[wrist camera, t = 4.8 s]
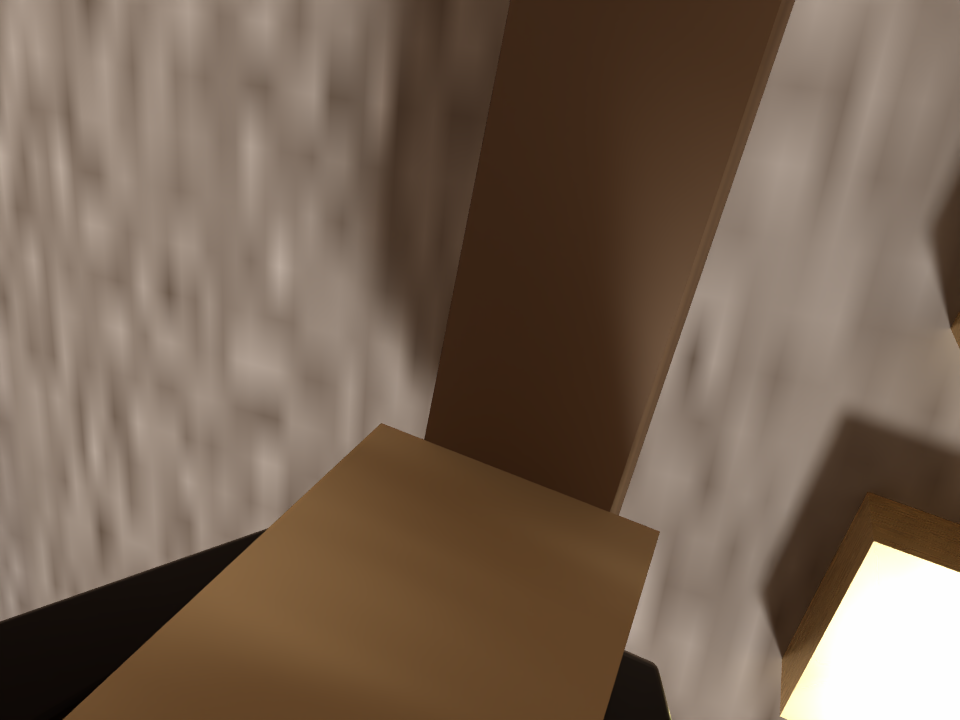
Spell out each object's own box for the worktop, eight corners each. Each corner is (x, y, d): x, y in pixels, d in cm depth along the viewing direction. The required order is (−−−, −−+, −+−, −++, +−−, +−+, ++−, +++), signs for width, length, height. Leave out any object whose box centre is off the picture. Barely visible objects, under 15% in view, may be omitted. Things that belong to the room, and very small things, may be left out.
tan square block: (1121, 572, 15) (1164, 647, 13) (1001, 736, 17) (1023, 820, 15) (866, 483, 16) (874, 541, 14) (782, 647, 18) (779, 716, 16)
